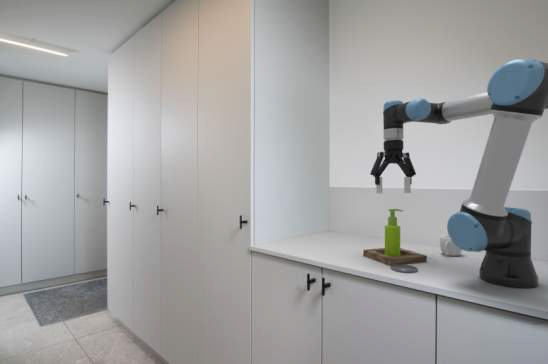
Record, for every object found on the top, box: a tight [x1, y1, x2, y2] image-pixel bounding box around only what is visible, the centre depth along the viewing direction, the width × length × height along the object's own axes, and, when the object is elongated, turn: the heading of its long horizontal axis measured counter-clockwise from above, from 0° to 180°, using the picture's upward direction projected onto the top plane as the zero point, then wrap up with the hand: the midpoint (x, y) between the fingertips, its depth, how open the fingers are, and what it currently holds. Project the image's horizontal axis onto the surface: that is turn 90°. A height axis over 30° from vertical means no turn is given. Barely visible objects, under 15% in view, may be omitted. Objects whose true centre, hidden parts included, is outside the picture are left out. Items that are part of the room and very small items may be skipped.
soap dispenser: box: [384, 208, 404, 257], centre depth 131 cm, size 6×7×20 cm
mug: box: [439, 234, 463, 257], centre depth 137 cm, size 12×8×8 cm
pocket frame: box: [362, 247, 428, 267], centre depth 132 cm, size 17×17×2 cm
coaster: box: [390, 264, 419, 274], centre depth 116 cm, size 9×9×1 cm
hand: (393, 193), depth 132 cm, fingers open, 13 cm apart
